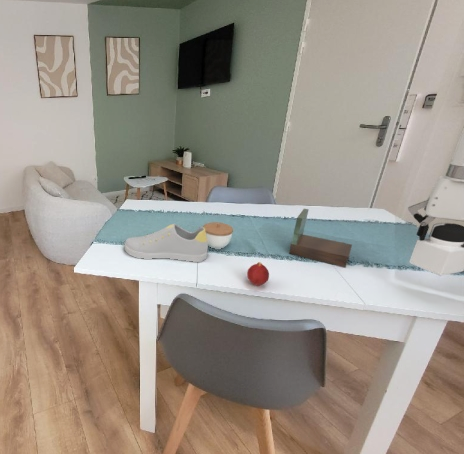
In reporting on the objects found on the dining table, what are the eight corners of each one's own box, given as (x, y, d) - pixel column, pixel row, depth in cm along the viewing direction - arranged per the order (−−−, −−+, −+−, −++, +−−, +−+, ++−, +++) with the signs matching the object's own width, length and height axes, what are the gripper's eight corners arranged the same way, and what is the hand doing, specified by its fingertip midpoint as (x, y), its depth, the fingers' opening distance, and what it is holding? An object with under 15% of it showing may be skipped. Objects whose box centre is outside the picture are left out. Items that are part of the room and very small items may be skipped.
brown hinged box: (348, 254, 101) (360, 217, 96) (345, 267, 94) (357, 228, 88) (295, 242, 111) (303, 208, 106) (289, 253, 104) (297, 217, 99)
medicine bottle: (463, 271, 74) (483, 228, 69) (440, 276, 73) (458, 232, 68) (429, 259, 80) (445, 218, 76) (408, 263, 79) (422, 222, 75)
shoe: (206, 266, 99) (209, 234, 94) (121, 256, 108) (121, 226, 104) (206, 252, 108) (209, 222, 103) (128, 244, 117) (128, 216, 113)
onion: (250, 277, 92) (254, 255, 89) (269, 284, 88) (274, 261, 85) (242, 285, 88) (245, 262, 85) (262, 293, 84) (266, 269, 81)
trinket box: (203, 238, 119) (205, 217, 116) (231, 242, 115) (234, 220, 111) (199, 249, 110) (201, 227, 107) (229, 254, 106) (232, 230, 102)
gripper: (528, 172, 64) (493, 245, 71) (416, 167, 75) (395, 230, 82) (540, 180, 59) (501, 257, 66) (418, 173, 70) (395, 239, 77)
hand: (442, 241), depth 74 cm, fingers closed on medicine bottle, 6 cm apart
